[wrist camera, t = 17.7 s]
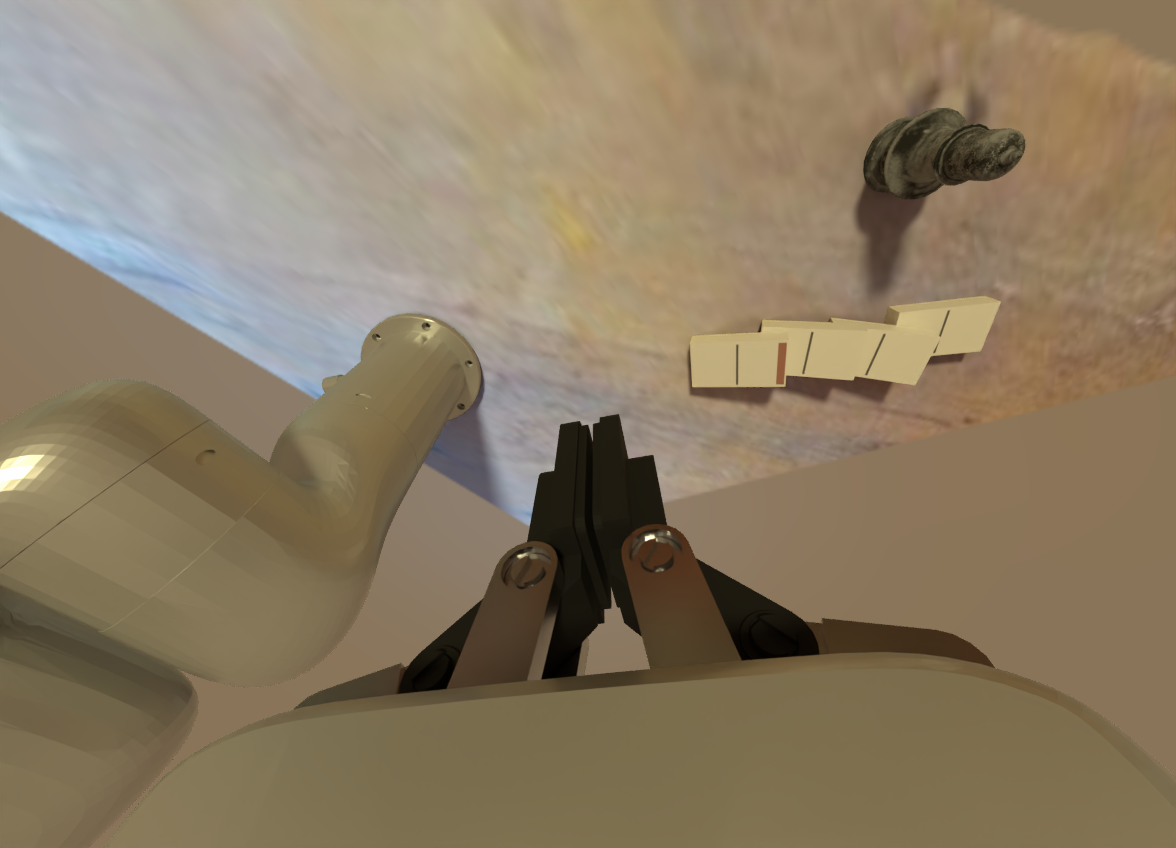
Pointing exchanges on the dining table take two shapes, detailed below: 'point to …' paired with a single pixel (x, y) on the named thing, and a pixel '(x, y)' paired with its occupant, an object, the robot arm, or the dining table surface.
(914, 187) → the dark chess piece
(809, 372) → the domino
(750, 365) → the domino
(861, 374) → the domino
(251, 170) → the dining table surface
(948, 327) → the domino
